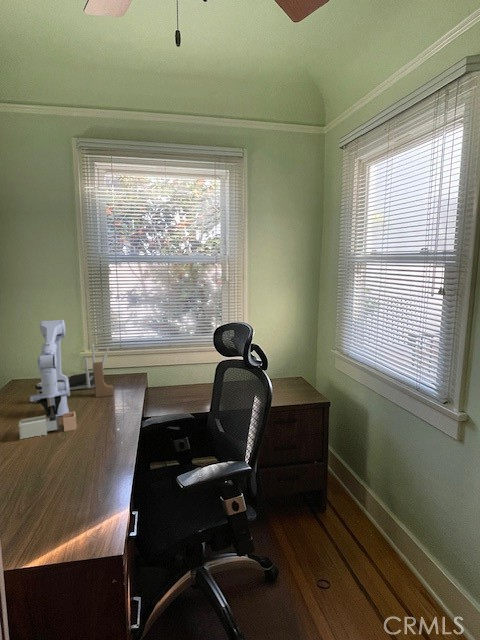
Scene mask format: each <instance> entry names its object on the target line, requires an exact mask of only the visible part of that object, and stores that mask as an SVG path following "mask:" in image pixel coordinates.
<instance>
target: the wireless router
mask: <svg viewBox="0 0 480 640" xmlns="http://www.w3.org/2000/svg"><path fill="white" fill-rule="evenodd" d="M109 349H110V346H107V348H106V351H105V355H104V356H103V357H102V360H101V362H102V363H103V369H105V368H104V367H105V365H106V360H107V356H108V352H109ZM91 354H92V356H91V357H92V358H91V359H92V364H93V363H96V357H95V355H96V354H95V344H94V343H92V345H91ZM84 366H85V367H84V368H85V373H80V374H79V373H78V374H73V375H70V377H69V378H68V380H69V390H70V391H71V390H72V391H73V390H81V389H82V390H84V389H93V388H94V389H95V383H94V369H93V368H92V371H91V372H89V366H88V358H87V356H84Z"/></svg>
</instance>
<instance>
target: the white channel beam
mask: <svg viewBox="0 0 480 640" xmlns="http://www.w3.org/2000/svg"><path fill="white" fill-rule="evenodd" d="M46 419H47V414H46V415H40V416H34V417H29V418H23V419H19V422H18V432H19V433H18V434H19V440H20V439H23V438H29V437H34V436H40V437H42V436H41V435H45V436H48V431H47V429H46ZM36 420H37V421H36ZM30 421H31V422H30Z"/></svg>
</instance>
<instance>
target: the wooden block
mask: <svg viewBox="0 0 480 640" xmlns="http://www.w3.org/2000/svg"><path fill="white" fill-rule="evenodd" d="M93 369H94V383H95V386H94V397H95V398H103V397H110V396H114V385H113V384H107V383H106V381H105V380H104V379H105V378H104V368H103V363H102V361H99V362H98V361H95V363H93V362H92V370H93Z"/></svg>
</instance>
